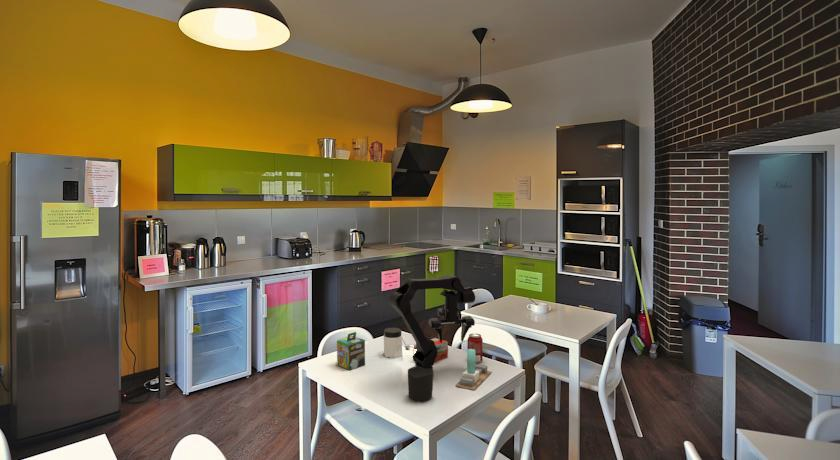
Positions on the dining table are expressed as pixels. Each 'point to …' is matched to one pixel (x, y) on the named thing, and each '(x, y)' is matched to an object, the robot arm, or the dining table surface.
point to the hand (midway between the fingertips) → (451, 341)
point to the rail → (469, 382)
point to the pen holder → (420, 384)
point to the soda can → (475, 345)
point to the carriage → (471, 366)
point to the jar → (392, 342)
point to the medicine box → (440, 349)
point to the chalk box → (351, 352)
